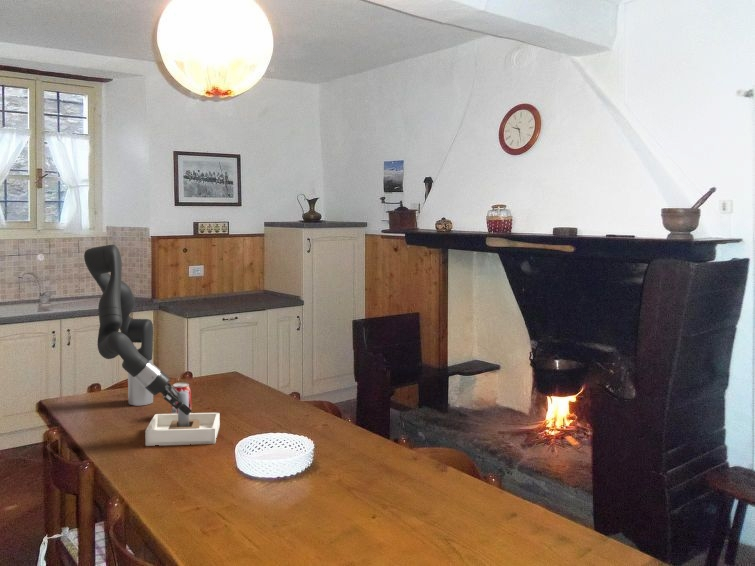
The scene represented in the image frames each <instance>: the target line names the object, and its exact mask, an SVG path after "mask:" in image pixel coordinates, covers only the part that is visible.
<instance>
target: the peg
mask: <svg viewBox="0 0 755 566" xmlns="http://www.w3.org/2000/svg"><path fill="white" fill-rule="evenodd" d="M177 395H178V396H179V397H180V400H181V401H182V402H183V403H184V404H185V405H186V406H188V407H189V392H187V391H181V392H178V393H177ZM178 427H189V414H188V415H186V414H185V413H183V412H182V411H181V410H180V409H178Z"/></svg>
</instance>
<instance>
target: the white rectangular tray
mask: <svg viewBox="0 0 755 566" xmlns="http://www.w3.org/2000/svg"><path fill="white" fill-rule="evenodd" d="M220 419H221V417H220V412H194V413H193V412H191V413H189V427H178V414H172V413H155V414H154V416H153V417H152V418H151V420H150V422H149V424H148V426H147V427H146V429H145V431H144V433H145V435H144V436H145V437H144V439H145V446H146V447H148V446H154V447H156V446H155V445H159V446H182V445H183V446H185V445H186V446H187V445H188V446H189V445H190V444H191V445H215V444H216V441H217V439H216V438H218V435H219V432H220V426H221V422H220V421H221V420H220Z"/></svg>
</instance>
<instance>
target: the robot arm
mask: <svg viewBox="0 0 755 566" xmlns="http://www.w3.org/2000/svg"><path fill="white" fill-rule="evenodd" d="M83 257H84V258H83V259H84V263H85V266H86V269H87V270H88V272H89V273H90V275H91V276H92V278H93V279H94V281H95V282H96V284H97V286H98V287H99V288H100V290H101V293H102V295H101V296H100V299H99V302H98V320H99V327H98V335H97V344H96V345H97V351H98V353H99V355H100V356H101V357H103V358H104V359H106V360H112V359H114V358H117V357H118V356H120V358H121V359H122V361H123V362H122V363H121V367H122V368H123V370H125V372H127V388H128V389H127V391H128V393H127V396H128V397H127V398H128V405H131V406H146V405H151V404H153V402H154V396H157V395H158V394H159V393H161V395H162V398H163V399H164V401H166V402H167V403H168V404H170V406H171V405H172V406H174V407H175V408H176V409H180V410H181V411H182V412H183V413H185V414H186V415H188V414H189V413H190V412H191V413H192V408H191V409H190V408H189V407H188V406H186V405H185V404H184V403H183V402H182V401H181V400H180V397H179V396H178V395H177V393H178V391H177V390H176V389H175V388H174V387H173V384H171V383H170V380H171V378H170V376H168V375H167V374H166V373H165V372H164V371H162V370H161V369H160V368H159V367H158V366H156V365H155V364H154V363H153V352H154V351H153V350H154V324H153V321H152V320H151V319H148V318H132V317H131V316H130V314H131V313H132V311H133V309H134V307H135V305H136V298H135V296H134V294H133V292H132V289H131V287H130V286H129V285H128V284H127V283H126V282H124V280H122V270H123V269H122V266H123V265H122V255H121V252H120V249H119V248H118V246H117V245H115V244H107V245H100V246H95V247H91V248H88V249H87V250H85V251H84V255H83ZM134 343H138V344H140V343H141V344H140V347H139V348H138V349H137V347H136V346H135V344H134ZM176 402H178V404H176ZM189 406H190V403H189Z"/></svg>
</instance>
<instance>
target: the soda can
mask: <svg viewBox="0 0 755 566" xmlns="http://www.w3.org/2000/svg"><path fill="white" fill-rule="evenodd" d="M172 386H173V387H174V388H175V389H176V390H177V391H178V392H181V391H187V392H189V403H190V406H189V408H190V409H191V410H192V393H191V392H192V390H191V386H190V384H189V383H188V382H176V383H173V384H172ZM176 404H178V402H176ZM170 410H171V411H170V412H171V414H178V409H176V408H175V407H174V406H172V405H171V404H170ZM190 413H192V411H191V412H190Z"/></svg>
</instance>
